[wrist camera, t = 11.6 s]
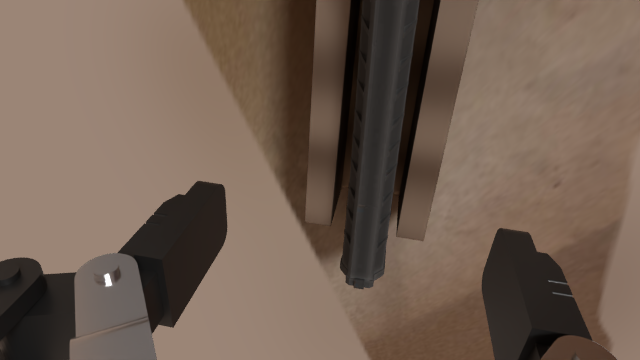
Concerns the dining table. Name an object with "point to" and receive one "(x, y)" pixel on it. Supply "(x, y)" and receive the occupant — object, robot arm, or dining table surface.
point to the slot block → (420, 109)
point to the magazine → (376, 134)
